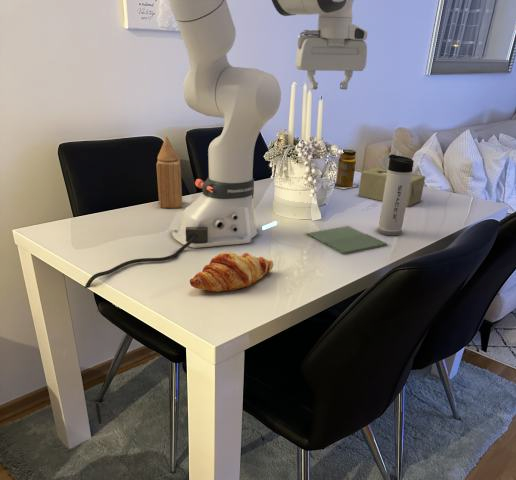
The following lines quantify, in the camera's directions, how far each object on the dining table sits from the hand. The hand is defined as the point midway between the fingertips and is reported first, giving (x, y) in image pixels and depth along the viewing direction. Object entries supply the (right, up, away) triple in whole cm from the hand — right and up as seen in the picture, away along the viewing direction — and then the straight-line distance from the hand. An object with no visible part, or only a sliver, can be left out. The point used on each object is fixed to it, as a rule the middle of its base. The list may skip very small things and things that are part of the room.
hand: (328, 89), depth 141 cm
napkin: (+3, -44, -8) cm, 45 cm away
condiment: (+11, -14, +41) cm, 45 cm away
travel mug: (+16, -40, -1) cm, 44 cm away
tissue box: (+24, -23, +28) cm, 44 cm away
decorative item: (-47, -29, +14) cm, 56 cm away
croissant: (-25, -58, -33) cm, 72 cm away
